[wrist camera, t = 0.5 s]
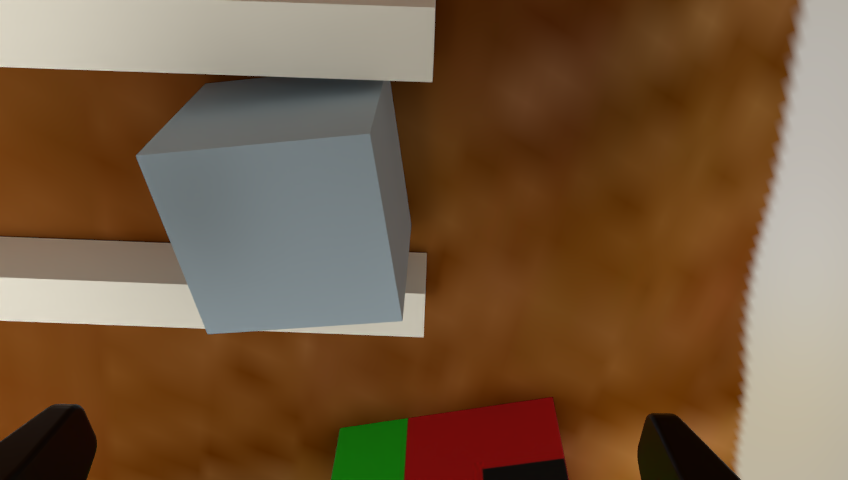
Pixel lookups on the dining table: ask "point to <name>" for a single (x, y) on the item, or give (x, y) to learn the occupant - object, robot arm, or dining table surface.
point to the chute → (193, 54)
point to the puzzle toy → (457, 446)
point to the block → (285, 202)
